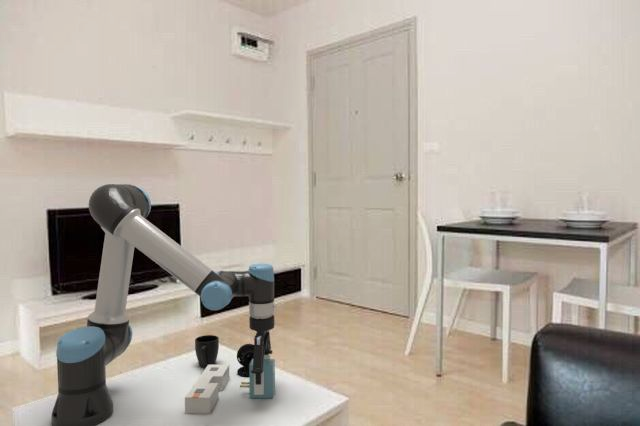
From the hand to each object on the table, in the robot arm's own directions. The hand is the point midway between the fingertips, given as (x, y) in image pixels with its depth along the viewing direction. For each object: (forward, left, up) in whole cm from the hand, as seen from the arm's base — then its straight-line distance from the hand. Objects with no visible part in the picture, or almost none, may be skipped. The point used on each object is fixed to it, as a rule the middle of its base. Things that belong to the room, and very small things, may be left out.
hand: (262, 384), depth 138 cm
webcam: (-8, +16, -3) cm, 18 cm away
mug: (-24, +22, -3) cm, 32 cm away
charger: (-2, 0, -3) cm, 3 cm away
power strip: (-17, +4, -3) cm, 17 cm away
